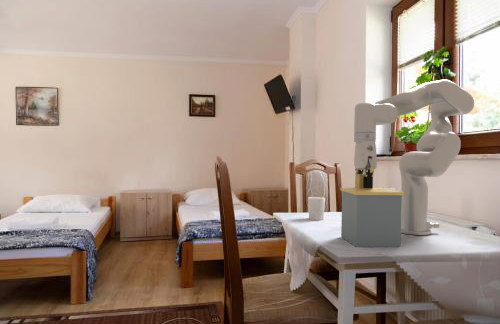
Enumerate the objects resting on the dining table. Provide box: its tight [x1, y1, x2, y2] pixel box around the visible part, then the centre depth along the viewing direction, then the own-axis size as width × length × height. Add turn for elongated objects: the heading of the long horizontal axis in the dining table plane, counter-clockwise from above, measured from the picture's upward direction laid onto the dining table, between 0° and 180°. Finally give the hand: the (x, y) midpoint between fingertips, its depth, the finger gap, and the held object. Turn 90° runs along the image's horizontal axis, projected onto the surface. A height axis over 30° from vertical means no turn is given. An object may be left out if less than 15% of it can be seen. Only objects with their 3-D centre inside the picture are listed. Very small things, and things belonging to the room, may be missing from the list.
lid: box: [339, 174, 404, 195], centre depth 131 cm, size 16×16×6 cm
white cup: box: [307, 196, 326, 221], centre depth 175 cm, size 8×8×10 cm
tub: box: [340, 191, 402, 248], centre depth 131 cm, size 15×15×17 cm
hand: (363, 186), depth 137 cm, fingers open, 6 cm apart
